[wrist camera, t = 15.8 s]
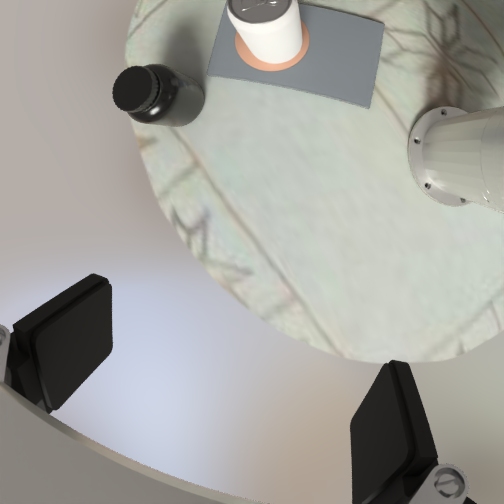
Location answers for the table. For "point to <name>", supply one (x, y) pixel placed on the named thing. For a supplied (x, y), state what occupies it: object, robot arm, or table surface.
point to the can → (268, 27)
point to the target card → (310, 56)
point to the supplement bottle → (158, 95)
